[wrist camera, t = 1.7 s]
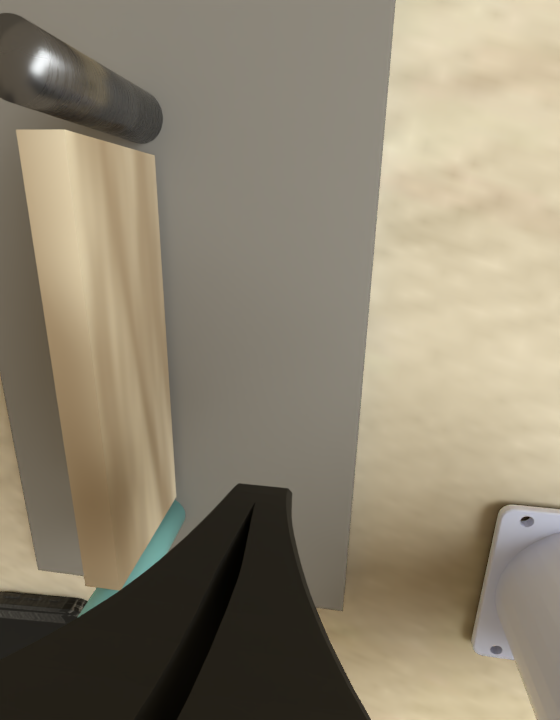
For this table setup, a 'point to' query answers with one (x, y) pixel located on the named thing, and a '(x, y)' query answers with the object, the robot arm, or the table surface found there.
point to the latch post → (147, 552)
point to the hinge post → (71, 84)
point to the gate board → (226, 254)
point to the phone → (33, 618)
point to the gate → (104, 338)
